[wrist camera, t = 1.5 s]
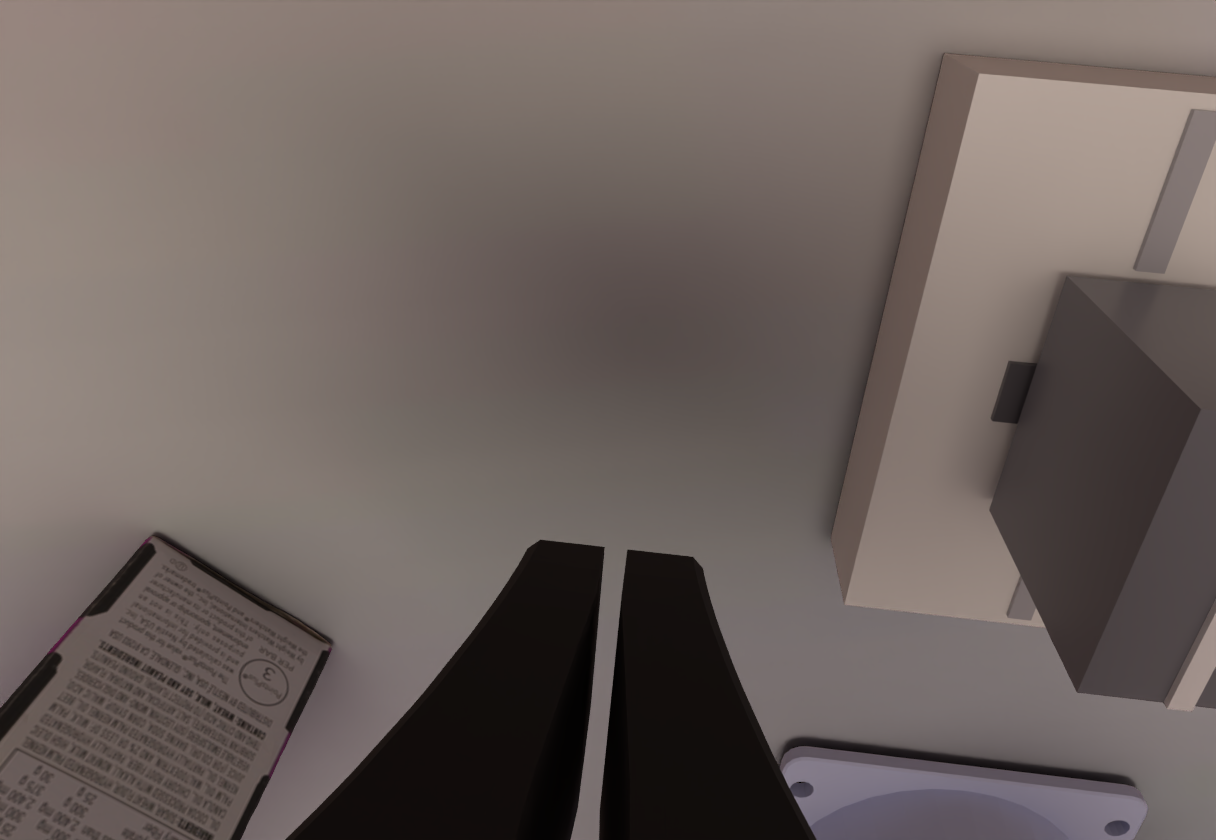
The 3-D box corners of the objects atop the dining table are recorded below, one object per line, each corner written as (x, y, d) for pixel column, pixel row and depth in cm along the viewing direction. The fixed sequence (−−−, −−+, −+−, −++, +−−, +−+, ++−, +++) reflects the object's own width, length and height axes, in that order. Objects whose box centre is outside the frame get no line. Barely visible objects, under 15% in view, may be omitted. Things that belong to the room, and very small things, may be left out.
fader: (1140, 526, 15) (1279, 721, 11) (989, 510, 15) (1079, 698, 11) (1241, 293, 13) (1449, 438, 9) (1066, 275, 13) (1206, 413, 9)
